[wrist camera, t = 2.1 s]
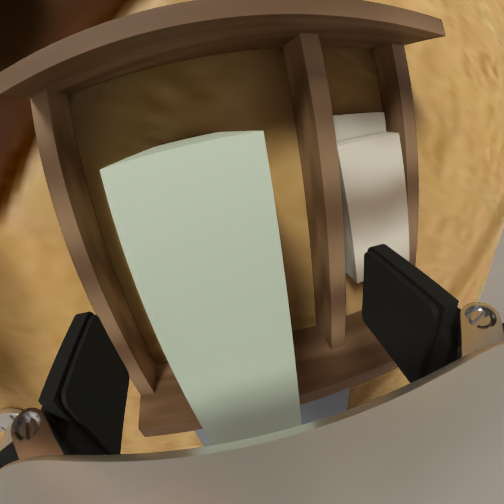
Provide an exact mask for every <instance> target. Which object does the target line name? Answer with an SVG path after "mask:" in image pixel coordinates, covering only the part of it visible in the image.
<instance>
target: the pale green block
mask: <svg viewBox="0 0 504 504" xmlns="http://www.w3.org/2000/svg"><path fill="white" fill-rule="evenodd" d="M100 174H101V178H102V181H103V185H104V189H105V193H106V196H107V200H108V203H109V207H110V210H111V214H112V217H113V220H114V224H115V227H116V230H117V233H118V236H119V239H120V242H121V245H122V248H123V251H124V254H125V257H126V260H127V263H128V266H129V269H130V271H131V274H132V277H133V280H134V282H135V285H136V287H137V290H138V293H139V295H140V298H141V300H142V303H143V305H144V308H145V310H146V313H147V315H148V318H149V320H150V322H151V325H152V327H153V329H154V332H155V334H156V336H157V338H158V341H159V343H160V345H161V347H162V350H163V352H164V354H165V356H166V358H167V360H168V362H169V365H170V367H171V369H172V371H173V373H174V375H175V377H176V379H177V381H178V383H179V385H180V387H181V389H182V391H183V393H184V395H185V397H186V399H187V400H188V402H189V404H190V406H191V408H192V410H193V412H194V414H195V415H196V417H197V419H198V421H199V423H200V424H201V426H202V428H203V430H204V431H205V433H206V435H207V437H208V438H209V440H210V442H211V443H212V445H218V444H224V443H229V442H234V441H239V440H244V439H249V438H253V437H258V436H262V435H266V434H270V433H274V432H278V431H282V430H286V429H289V428H293V427H296V426H300V425H302V423H301V412H300V402H299V392H298V382H297V373H296V363H295V354H294V345H293V337H292V328H291V320H290V311H289V303H288V295H287V288H286V280H285V272H284V265H283V257H282V250H281V243H280V235H279V228H278V221H277V215H276V208H275V201H274V194H273V188H272V181H271V175H270V168H269V162H268V156H267V150H266V144H265V138H264V132H263V131H231V132H215V133H210V134H205V135H200V136H196V137H191V138H187V139H183V140H178V141H174V142H170V143H166V144H162V145H158V146H155V147H153V148H150V149H147V150H145V151H142V152H140V153H137V154H135V155H132V156H130V157H128V158H125V159H123V160H120V161H118V162H116V163H114V164H111V165H109V166H107V167H105V168H102V169H100Z"/></svg>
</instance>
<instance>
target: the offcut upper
mask: <svg viewBox="0 0 504 504" xmlns="http://www.w3.org/2000/svg"><path fill="white" fill-rule="evenodd" d="M336 143H337V152H338V161H339V171H340V182H341V194H342V207H343V223H344V244H345V272H346V273H347V274H348V275H349V276H350V277H351V278H352V279H353V280H354V281H355V282H356V283H357V284H358V283H360V282H362V281H363V278H364V254H365V253H366V252H367V251H368V248H369V247H372V246H376V245H380V244H385V245H387V246H388V247H390V248H391V249H392V250H394V251H395V252H397V253H398V254H399V255H401V256H402V257H403V258H405V259H406V260H407V261H409V224H408V207H407V194H406V183H405V174H404V165H403V157H402V150H401V143H400V137H399V133H394V132H384V131H381V132H376V133H371V134H366V135H362V136H357V137H352V138H348V139H343V140H339V141H336Z"/></svg>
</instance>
